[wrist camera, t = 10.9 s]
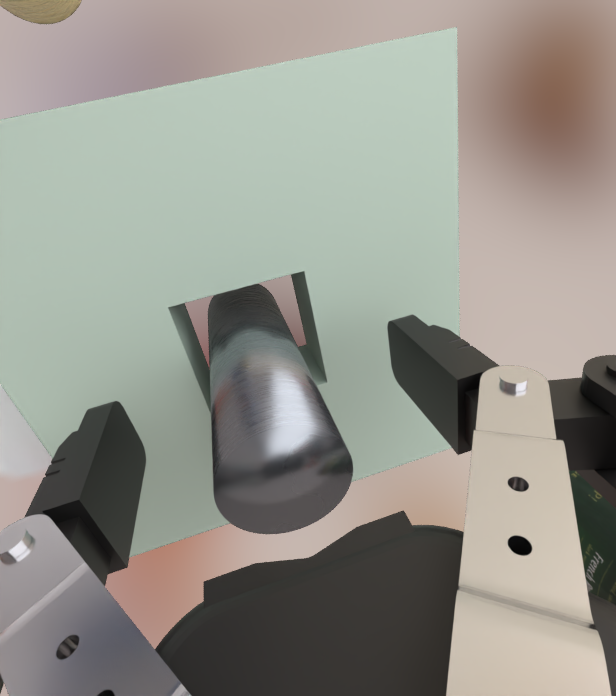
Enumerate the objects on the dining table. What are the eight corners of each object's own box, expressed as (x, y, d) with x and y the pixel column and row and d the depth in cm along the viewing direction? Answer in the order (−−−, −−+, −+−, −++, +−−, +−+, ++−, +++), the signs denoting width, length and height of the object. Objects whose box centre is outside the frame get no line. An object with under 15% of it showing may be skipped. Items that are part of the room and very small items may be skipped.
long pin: (198, 291, 16) (192, 454, 7) (268, 272, 16) (342, 406, 8) (220, 353, 18) (236, 551, 9) (284, 335, 18) (361, 507, 9)
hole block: (-71, 152, 12) (-162, 152, 9) (402, 54, 14) (457, 27, 11) (135, 497, 20) (123, 559, 17) (424, 404, 22) (460, 444, 19)
